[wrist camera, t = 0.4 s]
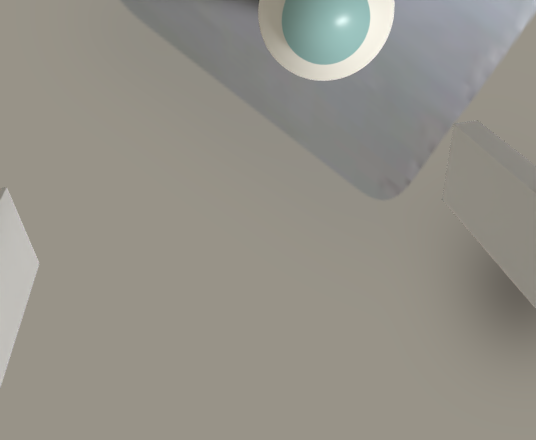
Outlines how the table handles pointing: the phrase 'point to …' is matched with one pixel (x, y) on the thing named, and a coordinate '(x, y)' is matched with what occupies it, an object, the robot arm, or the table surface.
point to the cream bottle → (325, 34)
